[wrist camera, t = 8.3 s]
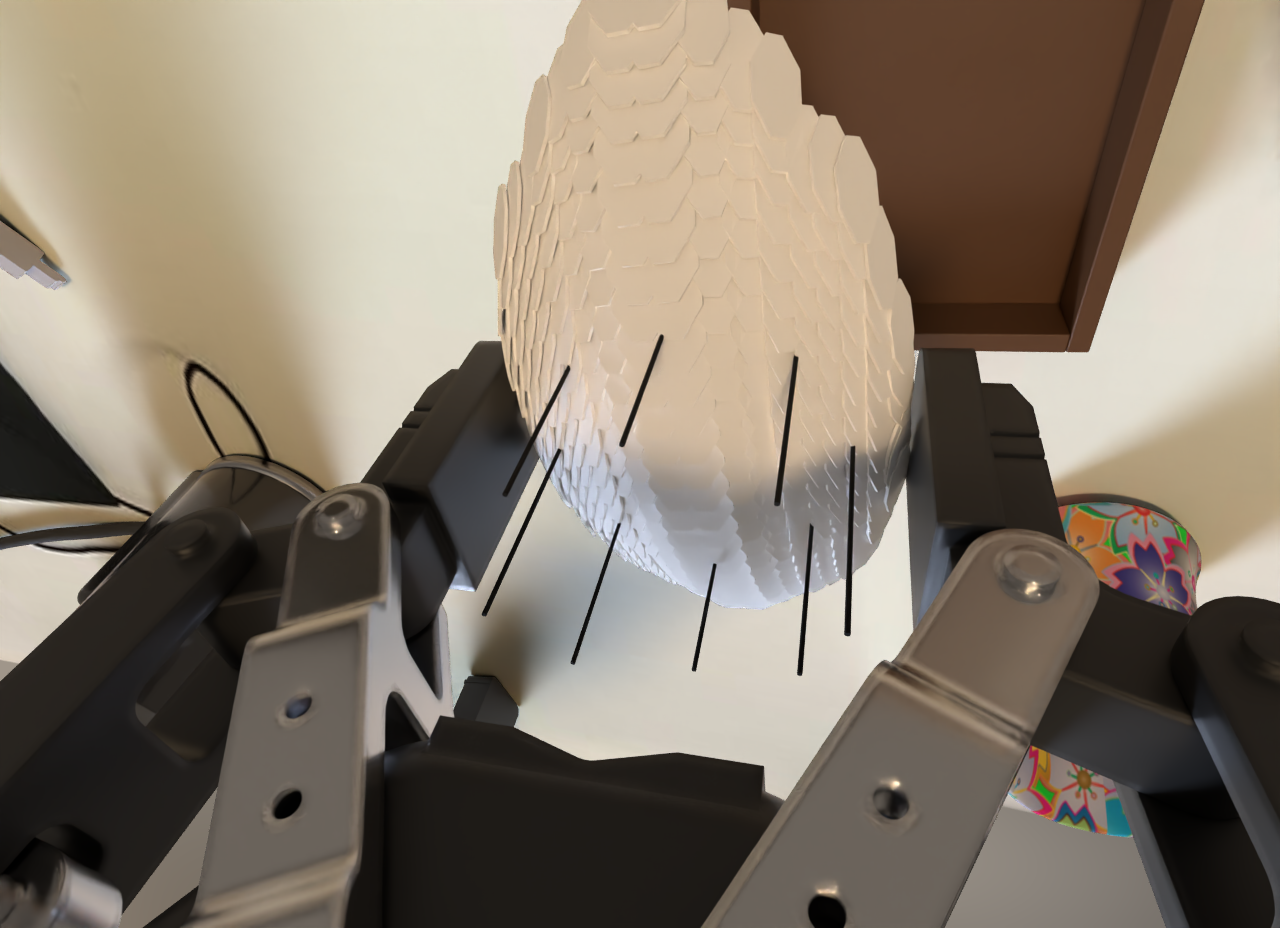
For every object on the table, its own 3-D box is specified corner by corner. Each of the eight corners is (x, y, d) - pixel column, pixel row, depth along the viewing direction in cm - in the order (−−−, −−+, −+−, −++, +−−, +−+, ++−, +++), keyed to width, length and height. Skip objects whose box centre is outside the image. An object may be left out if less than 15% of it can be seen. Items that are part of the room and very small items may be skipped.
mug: (989, 475, 32) (1027, 697, 24) (1242, 488, 29) (1371, 738, 22) (948, 637, 40) (967, 841, 32) (1144, 657, 37) (1214, 882, 30)
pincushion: (903, 586, 15) (913, 873, 11) (629, 574, 17) (555, 817, 13) (923, -129, 8) (976, -14, 4) (428, -11, 10) (115, 149, 6)
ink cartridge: (467, 672, 55) (421, 777, 49) (494, 673, 54) (450, 780, 48) (494, 708, 58) (454, 810, 52) (520, 709, 57) (482, 814, 51)
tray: (749, 311, 29) (741, 348, 27) (729, -251, 18) (713, -253, 16) (1073, 311, 26) (1089, 353, 24) (1272, -355, 15) (1328, -370, 13)
